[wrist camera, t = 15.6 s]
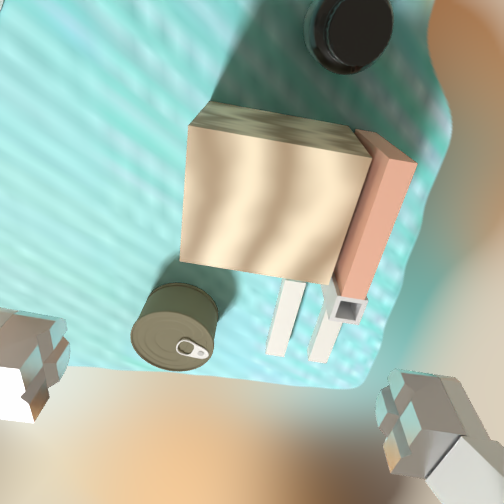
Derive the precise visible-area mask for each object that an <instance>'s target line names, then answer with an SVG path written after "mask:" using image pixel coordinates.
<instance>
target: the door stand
mask: <svg viewBox="0 0 504 504" xmlns="http://www.w3.org/2000/svg"><path fill="white" fill-rule="evenodd" d="M305 286H306V282H304V281H298V280H292V279H286V278H282V282H281V286H280V290H279V293H278V297H277V301H276V305H275V309H274V313H273V317H272V321H271V325H270V329H269V332H268V336H267V340H266V354H268V355H274V356H281V357H284V355H285V352H286V348H287V345H288V342H289V339H290V335H291V332H292V329H293V325H294V322H295V319H296V315H297V312H298V309H299V305H300V302H301V299H302V296H303V292H304V289H305ZM341 326H342V322H336V321H329V319H328V314H327V310H326V306H325V301H323V304H322V307H321V310H320V313H319V316H318V319H317V322H316V325H315V328H314V330H313V333H312V336H311V339H310V342H309V345H308V348H307V353H308V361H314V362H320V363H327V361H328V358H329V356H330V353H331V351H332V348H333V346H334V343H335V341H336V338H337V336H338V333H339V331H340V328H341Z"/></svg>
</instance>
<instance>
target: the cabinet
mask: <svg viewBox="0 0 504 504" xmlns="http://www.w3.org/2000/svg"><path fill="white" fill-rule="evenodd" d="M371 160H372V157H371V156H370V154H369V153H368V152H367V150H366V149H365V148H364V146H363V145H362V144H361V142H360V141H359V140H358V138H357V137H356V136H355V134H354V133H353V132H352V130H351V129H350V128H349V126H346V125H341V124H335V123H330V122H324V121H319V120H313V119H307V118H302V117H296V116H291V115H285V114H280V113H274V112H269V111H263V110H258V109H252V108H247V107H241V106H236V105H230V104H225V103H219V102H214V101H209V102H208V103H207V105H206V106H205V107H204V108H203V109H202V110H201V111H200V113H199V114H198V115H197V116H196V117H195V118H194V120H193V121H192V122H191V123H190V124H189V125H188V139H187V154H186V169H185V185H184V200H183V215H182V231H181V246H180V261H181V262H187V263H193V264H200V265H206V266H212V267H218V268H224V269H230V270H237V271H243V272H249V273H255V274H261V275H267V276H274V277H280V278H286V279H292V280H298V281H304V282H311V283H317V284H323V285H329V282H330V279H331V276H332V274H333V271H334V268H335V265H336V262H337V259H338V256H339V253H340V250H341V247H342V245H343V242H344V239H345V236H346V233H347V230H348V227H349V224H350V221H351V218H352V216H353V213H354V210H355V207H356V204H357V201H358V198H359V195H360V192H361V189H362V187H363V184H364V181H365V178H366V175H367V172H368V169H369V166H370V163H371Z"/></svg>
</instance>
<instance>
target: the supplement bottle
mask: <svg viewBox="0 0 504 504" xmlns="http://www.w3.org/2000/svg"><path fill="white" fill-rule="evenodd" d="M393 24H394V15H393V8H392V5H391V2H390V0H313V2H312V3H311V4H310V6H309V8H308V10H307V12H306V15H305V18H304V23H303V37H304V42H305V45H306V47H307V49H308V51H309V53H310V54H311V55H312V57H313V58H314V59H315V60H316V61H317V62H318V63H319V64H321V65H322V66H323V67H324V68H325V69H327V70H329V71H331V72H333V73H336V74H340V75H350V74H355V73H358V72H361V71H363V70H365V69H367V68H368V67H370V66H371V65H372V64H374V63H375V62H376V61H377V60H378V59H379V58H380V56H381V55H382V54H383V52H384V51H385V49H386V47H387V45H388V43H389V41H390V38H391V35H392V31H393Z"/></svg>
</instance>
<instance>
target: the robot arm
mask: <svg viewBox="0 0 504 504" xmlns="http://www.w3.org/2000/svg"><path fill="white" fill-rule="evenodd" d="M3 1H4V0H0V10H1V7H2V4H3ZM66 331H67V326H66V321H65V319H62V318H59V317H53V316H48V315H42V314H36V313H31V312H25V311H18V310H12V309H6V308H1V307H0V419H4V420H13V421H21V422H30V423H34V422H35V420H36V418H37V417H38V415H39V414H40V412H41V410H42V409H43V407H44V406H45V404H46V402H47V401H48V399H49V391H48V388H49V387H51V386H52V385H54V384H55V383H57V382H59V381H60V379H61V378H62V376H63V374H64V372H65V370H66V368H67V365H68V362H69V358H70V344H69V342H68V341H67V340H66V339H65V338H64V337H63V335H64V334H65V332H66ZM387 380H388V382H389V386H387V387H385V388H383V389H381V390H380V392H379V394H378V397H377V399H376V407H375V413H376V420H377V424H378V428H379V429H380V430H381V431H382V433H384V435H385V436H386V437H387V438H386V440H385V442H384V444H383V447H384V451H385V455H386V459H387V463H388V466H389V470H390V473H391V474H397V475H403V476H409V477H414V478H420V479H426V481H425V482H426V483H427V485H428V486H429V487H430V489H431V490H432V491H433V493H434V494H435V495H436V497H437V498H438V499H439V501H440V502H441V503H442V504H504V447H503V446H502V445H501V444H500V443H499V442H497V441H493V440H491V439H490V437H489V436H488V434H487V432H486V430H485V428H484V426H483V424H482V422H481V420H480V419H479V417H478V415H477V413H476V411H475V409H474V407H473V405H472V404H471V402H470V400H469V398H468V396H467V394H466V392H465V390H464V388H463V387H462V385H461V383H460V381H458V380H457V379H456V378H455V377H449V376H442V375H433V374H429V373H422V372H415V371H408V370H400V369H394V370H392V371H391V372H390V374H389V376H388V378H387Z"/></svg>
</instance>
